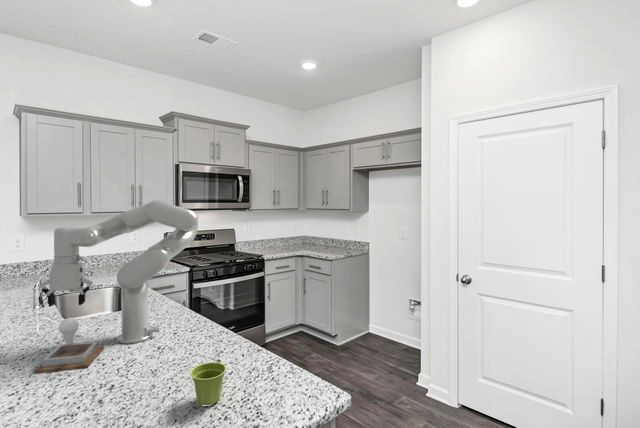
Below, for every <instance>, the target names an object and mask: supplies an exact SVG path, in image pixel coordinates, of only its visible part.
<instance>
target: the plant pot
mask: <svg viewBox="0 0 640 428" xmlns="http://www.w3.org/2000/svg"><path fill="white" fill-rule="evenodd" d="M226 371H227V366H226V365H225V364H224V363H221V362H215V361H212V362H211V361H209V362H205V363H201V364H198V365H196V366H195V367H193V368H192V369H191V371H190V376H191V378H192V381H193V383H194V390H195V397H196V398H195V399H196V402H197V404H198V405H199V404H200V405H211V404H213V405H215V404H214V403H216V402H218V401H219V402H220V400H221V397H222V396H221V395H222V388H223V380H224V377H225V374H226ZM219 402H218V403H219ZM216 404H217V403H216ZM200 405H199V406H200Z"/></svg>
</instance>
